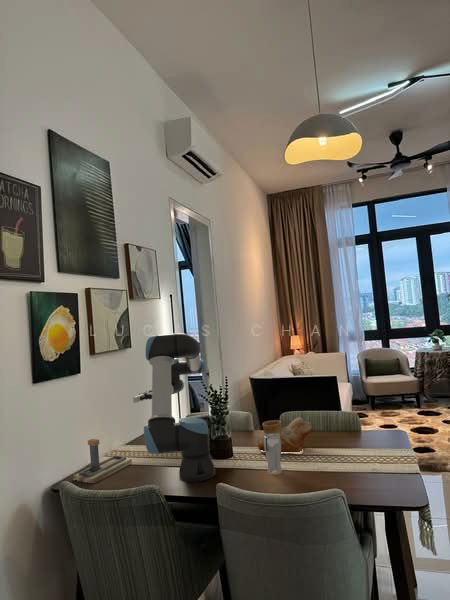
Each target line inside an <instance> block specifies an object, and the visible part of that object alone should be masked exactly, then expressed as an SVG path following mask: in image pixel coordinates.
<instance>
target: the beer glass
mask: <svg viewBox="0 0 450 600" xmlns="http://www.w3.org/2000/svg"><path fill="white" fill-rule="evenodd" d="M264 448H265V453H264V454H265V458H266V462H267V471H268V472H270V473H278V472H280V471H282V472H283V469H282V465H281V464H282V463H281V461H282V455H281V439H280V435H279V434H274V433H272V434H266V435H265V436H264Z"/></svg>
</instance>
